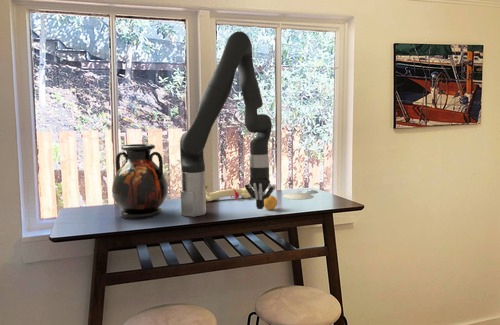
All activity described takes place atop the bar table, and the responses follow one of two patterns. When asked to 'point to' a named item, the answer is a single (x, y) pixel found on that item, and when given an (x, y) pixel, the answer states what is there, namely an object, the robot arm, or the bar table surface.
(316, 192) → the disc
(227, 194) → the cat figure
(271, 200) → the ball
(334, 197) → the bar table surface
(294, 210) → the bar table surface
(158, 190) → the amphora vase
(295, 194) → the disc
